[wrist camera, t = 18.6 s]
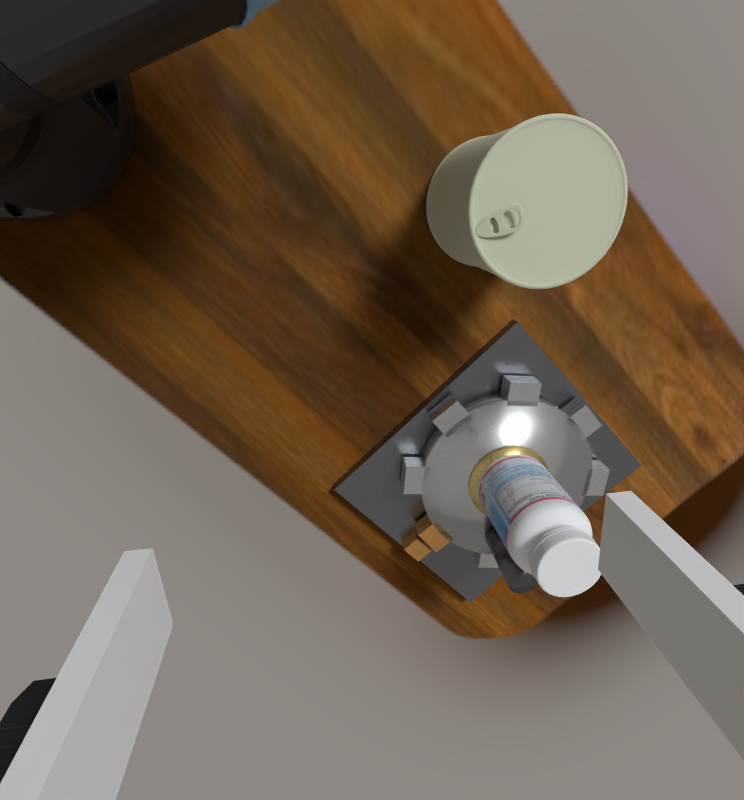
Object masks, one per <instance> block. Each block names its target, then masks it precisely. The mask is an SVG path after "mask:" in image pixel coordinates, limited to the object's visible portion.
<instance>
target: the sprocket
mask: <svg viewBox="0 0 744 800" xmlns="http://www.w3.org/2000/svg"><path fill="white" fill-rule="evenodd" d="M541 386H542V383H541V382H540V381H538V380H537V379H536V378H535V377H534V376H513V375H503V379H502V385H501V391H500V394H494V395H490V396H486V397H483V398H480V399H478V400H475V401H473V402H470V403H469V404H467V405H465V406H463V405H462V404H461V403H460V402H459V401H458V399H457V398H456V397H455V396H454V395H453V394H452V393H451V394H450V395H449V396H448V397H446V398H445V399H444V400H443V401H442V402H440V403H439V404H438V405H437V406H435V407H434V408H433V409H432V410H431V411H429V412H428V414H429V416H430V418H431V420H432V422H433V423H434V424H435V425H436V426H437V427H438V428H437V429H436V431H435V432H434V433H433V435H432V436H431V438H430V439H429V441H428V443H427V445H426V447H425V449H424V451H423V454H422V457H403V462H402V472H401V481H400V484H401V487H402V491H403V494H420V495H421V499H422V502H423V504H424V507H425V510H426V512H427V514H426V515H425V516H424V517H422V518H421V519H420V520H418V521H417V522H416V523H415V526H416V529H417V532H418V535H419V536H420V537H421V538H422V539H423V540H424V541H425V542H426V543H427V544H428V545H429V546H430V547H431V548H432V549H433V550H434V551H435V552H438V551H439V550H440V549H442V548H443V547H444V546H446V545H447V544H448V543H450V542H452V543H454V544H455V545H457V546H459V547H461V548H464V549H466V550H470V551H473V556H474V559H475V561H476V563H477V565H478V568H500V570H501V572H502V574H503V576H504V578H505V580H506V582H507V584H508V586H509V588H510V590H512V591H513V592H515V593H525V592H528V591H530V590H531V589H533V588H534V587H535V585H536V583H537V581H536V579H535V578H534V577H533V575H532V574H529V573H527V572H525V571H524V570H522V569H521V568H520V567H519V566H518V565H517V564H516V563H515V562H514V560H513V559H512V557H511V556H510V554H509V552H508V551H507V549H506V547H505V545H504V544H503V542H502V540H501V538H500V536H499V535H498V533H497V531H496V529H495V528H494V526H493V524H492V522H491V520H490V519H489V517H488V515H487V513H486V512H485V510H484V508H483V506H482V504H481V502H480V500H479V497H478V483H479V480H480V477H481V475H482V473H483V472H484V470H485V469H486V468H487V467H488V466H489V465H490V464H491V463H492V462H493V461H495V460H497V459H499V458H501V457H504V456H507V455H515V454H518V455H526V456H530V457H533V458H535V459H536V460H538V461H539V462H540V463H541V464H542V465H543V466H544V467H545V468H546V469H547V470H548V471H549V473H550V474H551V475H552V476H553V477H554V479H555V480H556V481H557V482H558V483H559V484H560V486H561V487H562V488H563V489H564V490H565V491H566V493H567V494H568V495H569V496H570V497H571V498H572V500H573V501H574V502H575V503H576V504H577V505H578V506H579V507H580V506H581V504H582V502H583V500H584V498H585V496H603V494H604V490H605V486H606V482H607V478H608V475H609V471H610V470H609V469H608V468H607V467H606V466H605V465H604V464H603V463H602V462H601V461H600V460H592V455H591V450H590V446H589V443H588V441H587V439H586V438H587V437H588V436H589V435H591V434H592V433H593V432H594V431H596V430H597V429H598V428H600V427H601V426H602V425H601V424H600V422H599V421H598V420H597V418H596V417H595V416H594V414H593V413H592V412H591V410H590V409H589V408H588V407H587V405H586V404H585V403H583V402H582V401H581V400H579V399H578V398H577V397H575V398H574V399H573V400H571V401H570V402H569V403H568V404H566V405H565V406H564V407H563V408H561V409H560V408H558V407H557V406H556V405H554V404H553V403H551V402H549V401H547V400H545V399H543V398H540V397H539V396H540V391H541Z"/></svg>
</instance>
